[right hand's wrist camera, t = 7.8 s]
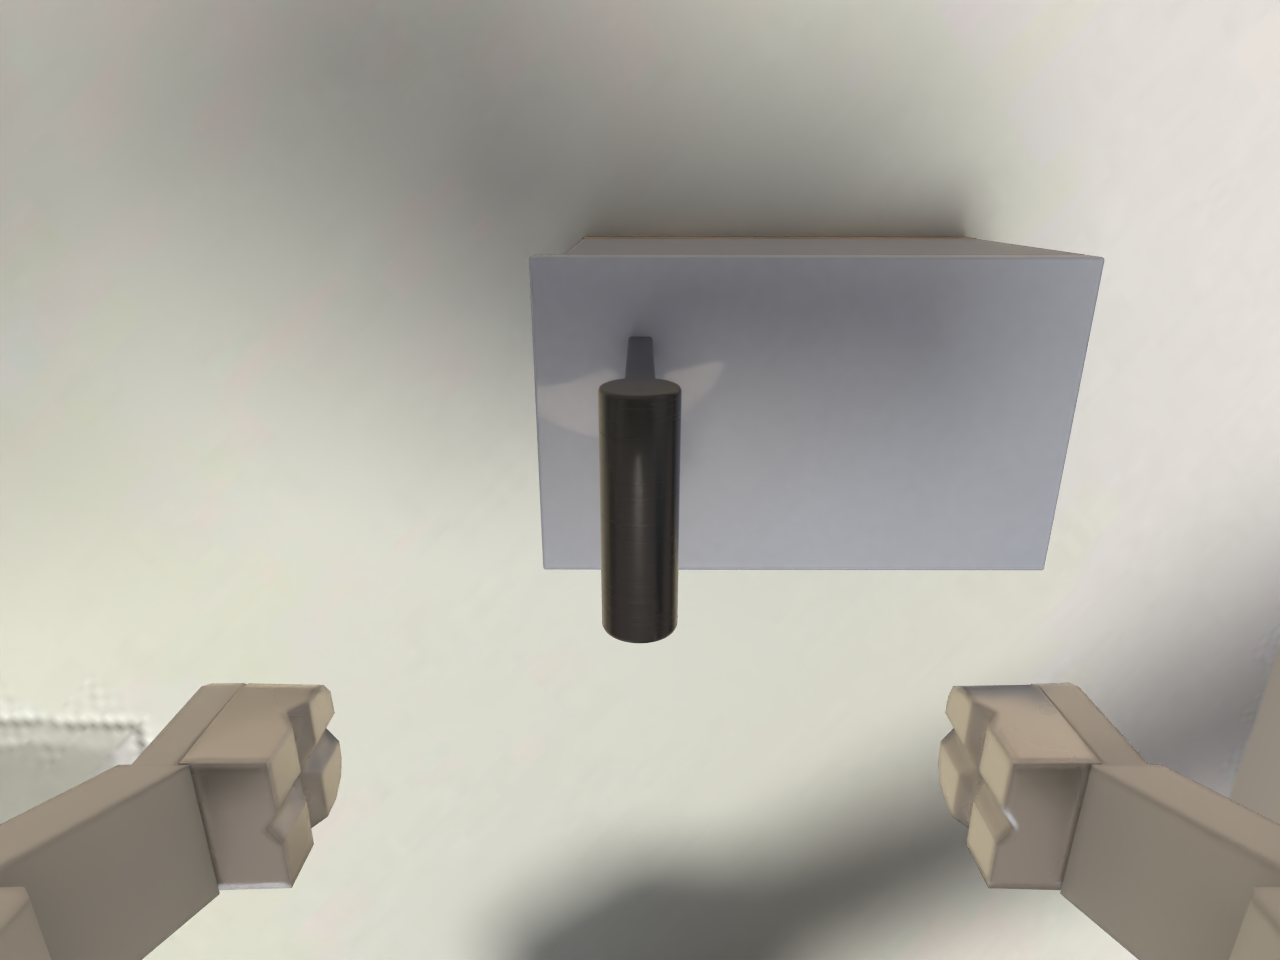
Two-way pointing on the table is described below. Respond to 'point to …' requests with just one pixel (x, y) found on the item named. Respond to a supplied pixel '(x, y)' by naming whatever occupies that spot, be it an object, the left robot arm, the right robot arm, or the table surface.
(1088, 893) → the right robot arm
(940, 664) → the table surface
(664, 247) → the chest
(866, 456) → the lid
